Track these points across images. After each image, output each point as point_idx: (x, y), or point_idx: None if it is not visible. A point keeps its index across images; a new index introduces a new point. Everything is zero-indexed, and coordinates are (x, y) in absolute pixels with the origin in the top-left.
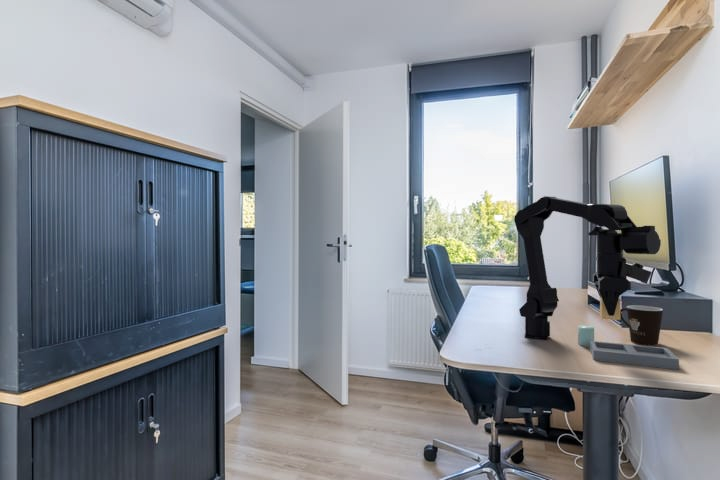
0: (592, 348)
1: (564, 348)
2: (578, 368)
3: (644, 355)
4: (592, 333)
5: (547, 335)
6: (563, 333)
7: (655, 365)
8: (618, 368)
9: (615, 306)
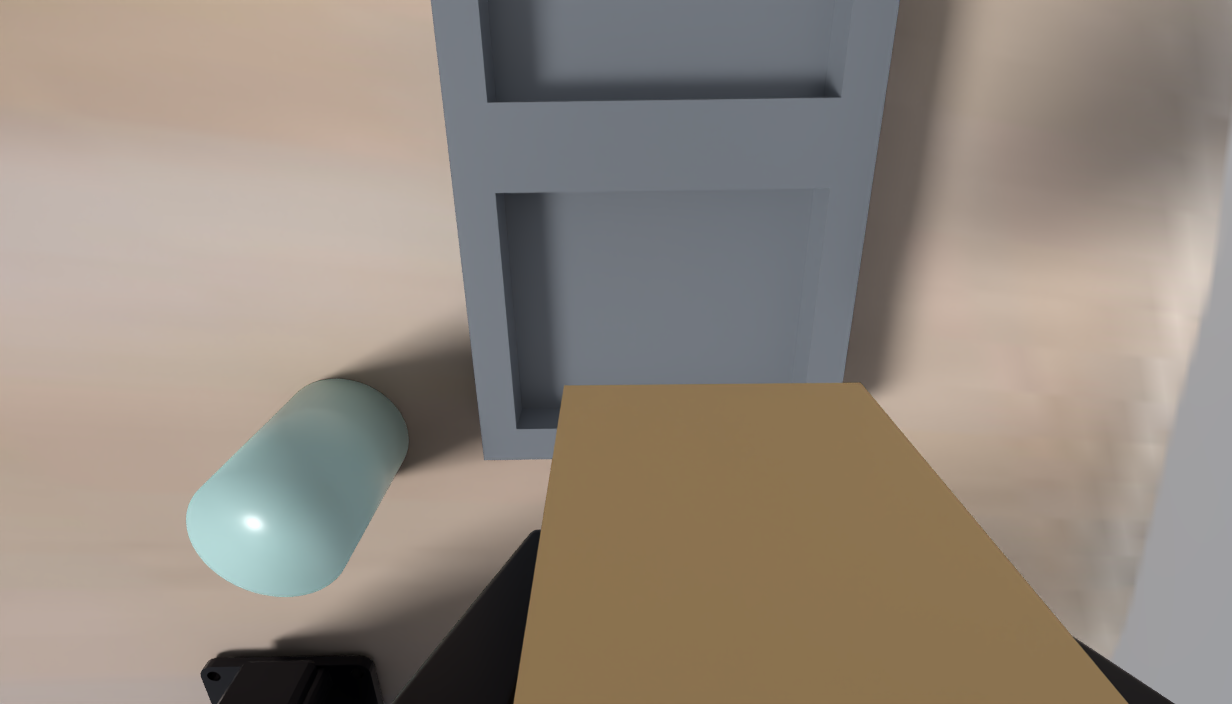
0: None
1: None
2: (1040, 504)
3: (883, 47)
4: (330, 456)
5: (320, 676)
6: (52, 567)
7: None
8: (983, 272)
9: (1108, 673)
